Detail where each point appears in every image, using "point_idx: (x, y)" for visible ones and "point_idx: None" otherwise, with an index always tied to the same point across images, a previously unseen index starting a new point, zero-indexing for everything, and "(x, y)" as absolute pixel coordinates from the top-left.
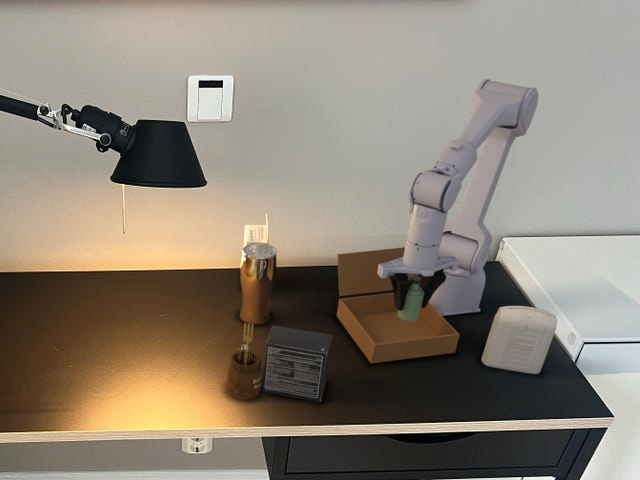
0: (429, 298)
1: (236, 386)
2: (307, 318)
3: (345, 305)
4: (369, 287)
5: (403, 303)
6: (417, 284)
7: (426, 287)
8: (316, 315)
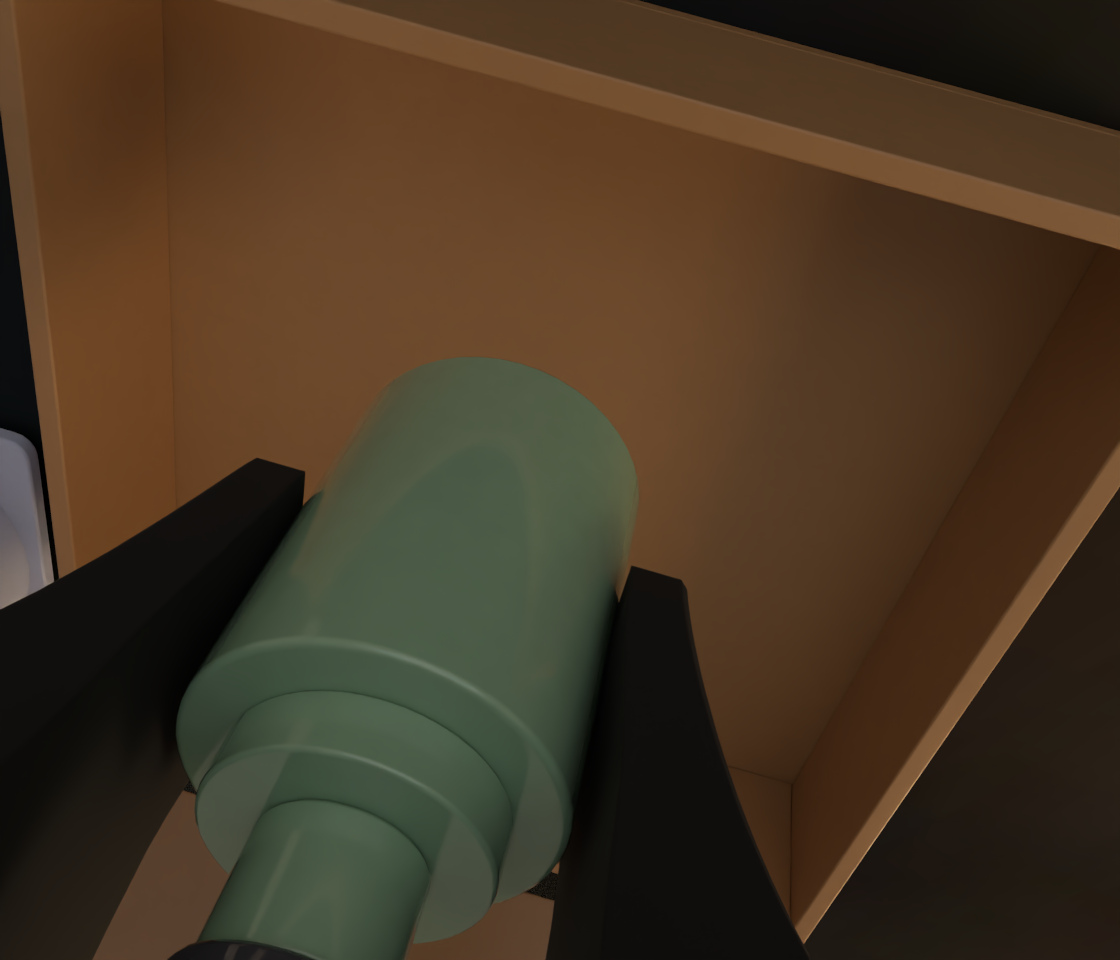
0: (149, 545)
1: None
2: (1007, 867)
3: (836, 877)
4: (506, 941)
5: (650, 658)
6: (290, 936)
7: (101, 771)
8: (913, 858)
